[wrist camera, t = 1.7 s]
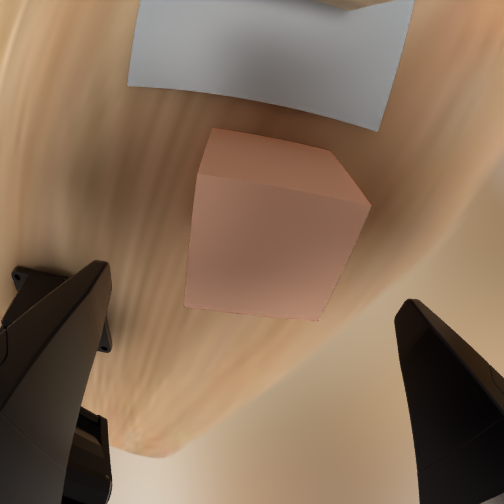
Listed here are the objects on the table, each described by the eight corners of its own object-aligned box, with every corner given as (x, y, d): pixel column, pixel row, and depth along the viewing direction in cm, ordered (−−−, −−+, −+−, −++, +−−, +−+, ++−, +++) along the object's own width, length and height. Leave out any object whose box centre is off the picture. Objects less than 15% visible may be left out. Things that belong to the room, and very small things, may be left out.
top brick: (298, 244, 16) (318, 321, 12) (197, 229, 15) (183, 306, 11) (329, 150, 13) (372, 205, 9) (212, 127, 12) (197, 173, 8)
